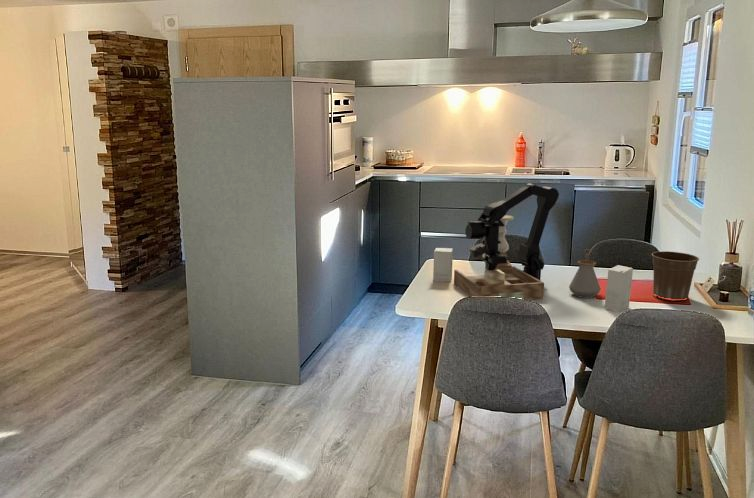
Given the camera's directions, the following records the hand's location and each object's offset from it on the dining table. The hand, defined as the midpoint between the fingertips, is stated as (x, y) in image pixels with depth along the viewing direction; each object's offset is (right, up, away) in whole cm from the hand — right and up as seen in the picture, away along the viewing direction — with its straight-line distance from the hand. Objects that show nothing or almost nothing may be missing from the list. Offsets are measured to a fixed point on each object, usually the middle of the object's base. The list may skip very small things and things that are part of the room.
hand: (489, 275), depth 265 cm
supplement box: (-18, -2, +10) cm, 21 cm away
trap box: (+2, -6, -6) cm, 9 cm away
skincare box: (+41, -11, -27) cm, 50 cm away
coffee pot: (+36, -6, -6) cm, 37 cm away
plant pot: (+66, -8, -13) cm, 68 cm away
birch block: (+1, -2, -4) cm, 5 cm away
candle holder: (+8, +1, +26) cm, 27 cm away
